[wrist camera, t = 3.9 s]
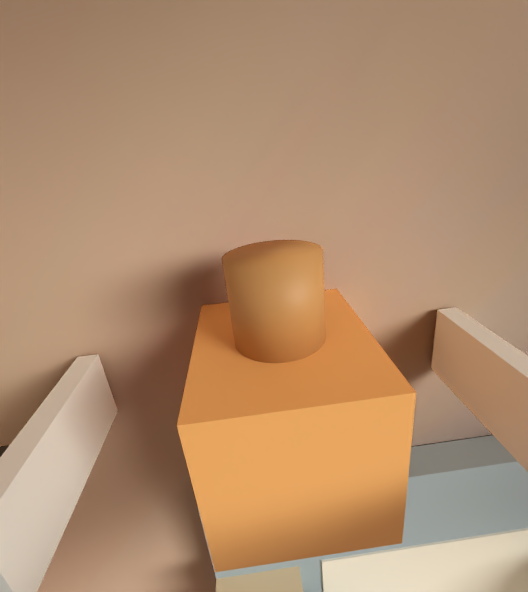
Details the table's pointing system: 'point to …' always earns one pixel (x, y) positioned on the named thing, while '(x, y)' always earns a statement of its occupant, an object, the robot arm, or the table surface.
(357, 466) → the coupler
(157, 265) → the table surface
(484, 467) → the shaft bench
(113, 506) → the table surface
